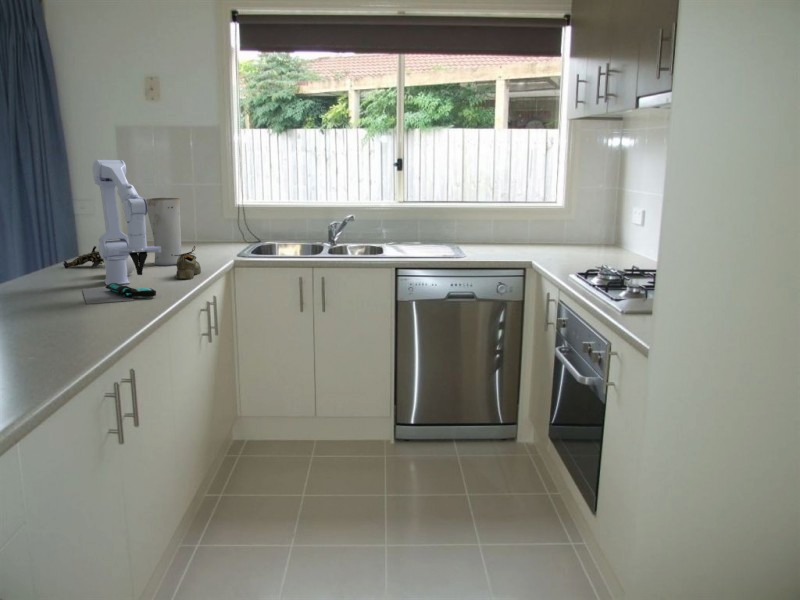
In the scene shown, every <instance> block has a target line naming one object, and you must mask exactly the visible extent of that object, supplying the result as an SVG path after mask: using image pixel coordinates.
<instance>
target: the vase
mask: <svg viewBox="0 0 800 600" xmlns="http://www.w3.org/2000/svg"><path fill="white" fill-rule="evenodd" d="M145 200H146V202H147V206H148V211H147V216H148V220H149V224H150V228H151V232H152V237H153V243H154V245H153V246H160V247H161V253H158V252H155V253H154V262H153V263H154V264H153V265H154V266H156V265H157V266H160V267H164V266H165V267H171V265H173V266H177V260H178V258H179V257H178V256H175V255H180V254H183V252H182V237H181V236H182V234H181V231H182V230H181V211H180V210H181V209H180V206H181V205H180V204H181V203H180V202H181V201H180V200H181V199H180V198H178V197H154V198H147V199H146V198H145Z"/></svg>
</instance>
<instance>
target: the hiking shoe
mask: <svg viewBox="0 0 800 600" xmlns="http://www.w3.org/2000/svg"><path fill="white" fill-rule="evenodd" d="M195 249H196V245H194V246H193V248H192V249H191V251H188V252H185V253H181V254H180V255H175V256H178V257H179V258H178V260H177V265H176V269H177V270H176V275H175V276H176V277H175V278H176V279H177V280H193V278H194V276H198V275H200V274H201V273H202V272H201V271H202V267H201V265H200V262H199V261H197V256H195V254H194V252H195V251H196V250H195ZM197 274H198V275H197Z"/></svg>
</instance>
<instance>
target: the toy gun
mask: <svg viewBox="0 0 800 600" xmlns="http://www.w3.org/2000/svg"><path fill="white" fill-rule="evenodd" d="M104 288H107V289H110V290H111V291H113V292H116V293H118V294H121V295H123V296H126V297H133V298H146V299H147V298H153V297H156V296H157V291H156V290H154V289H153V288H152V287H147V288H145V287H144V288H142V287H141V288H133V287H129V286H127V285H124V284H117V283H111V284H109V285H106V286H105V287H104Z"/></svg>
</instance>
